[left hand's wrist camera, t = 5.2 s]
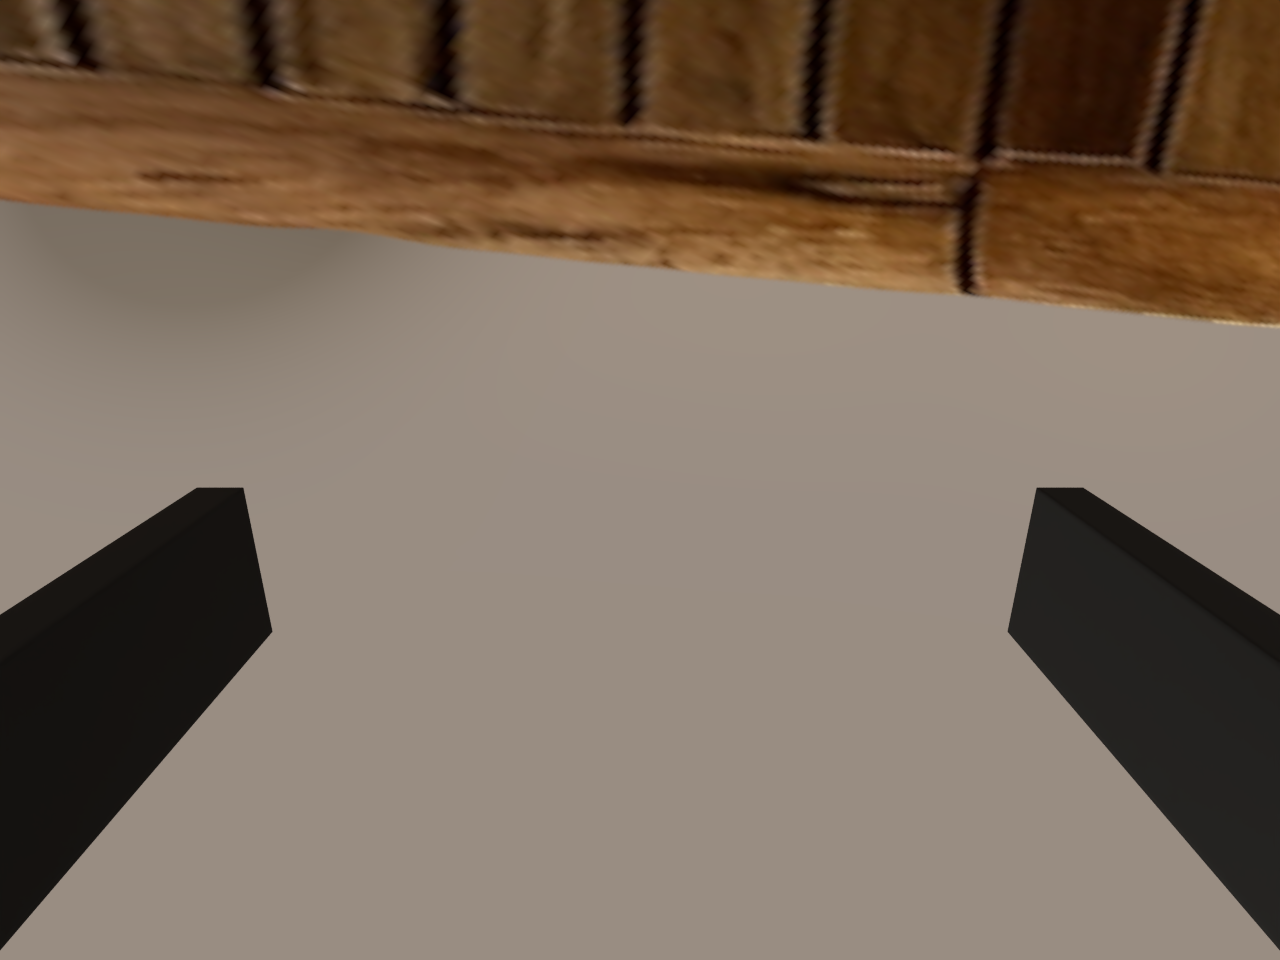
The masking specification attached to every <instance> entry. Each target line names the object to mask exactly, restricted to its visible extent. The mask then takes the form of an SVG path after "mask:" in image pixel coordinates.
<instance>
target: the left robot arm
mask: <svg viewBox="0 0 1280 960" xmlns="http://www.w3.org/2000/svg"><path fill="white" fill-rule="evenodd" d="M271 633H272V627H271V622H270V617H269V612H268V608H267V603H266V598H265V593H264V588H263V583H262V578H261V573H260V568H259V563H258V558H257V553H256V548H255V543H254V538H253V533H252V528H251V523H250V519H249V514H248V509H247V504H246V499H245V494H244V489H243V488H196V489H194V490H193V491H191V492H190V493H188V494H186V495H185V496H183V497H182V498H180V499H179V500H177V501H176V502H174V503H173V504H171V505H169V506H168V507H166V508H165V509H163V510H162V511H160V512H159V513H157V514H156V515H154V516H152V517H151V518H149V519H148V520H146V521H145V522H143V523H142V524H140V525H139V526H137V527H135V528H134V529H132V530H131V531H129V532H128V533H126V534H125V535H123V536H121V537H120V538H118V539H117V540H115V541H114V542H112V543H111V544H109V545H107V546H106V547H104V548H103V549H101V550H100V551H98V552H97V553H95V554H94V555H92V556H90V557H89V558H87V559H86V560H84V561H83V562H81V563H80V564H78V565H77V566H75V567H73V568H72V569H70V570H69V571H67V572H66V573H64V574H63V575H61V576H60V577H58V578H56V579H55V580H53V581H52V582H50V583H49V584H47V585H46V586H44V587H43V588H41V589H39V590H38V591H36V592H35V593H33V594H32V595H30V596H29V597H27V598H25V599H24V600H22V601H21V602H19V603H18V604H16V605H15V606H13V607H12V608H10V609H8V610H7V611H5V612H4V613H2V614H1V615H0V950H1V949H2V948H3V946H4V945H5V944H6V943H7V942H8V941H9V939H10V938H11V937H12V936H13V935H14V933H15V932H16V931H17V930H18V929H19V928H20V926H21V925H22V924H23V923H24V922H25V921H26V919H27V918H28V917H29V916H30V915H31V914H32V912H33V911H34V910H35V909H36V908H37V906H38V905H39V904H40V903H41V902H42V901H43V900H44V898H45V897H46V896H47V895H48V894H49V893H50V891H51V890H52V889H53V888H54V887H55V886H56V884H57V883H58V882H59V881H60V880H61V878H62V877H63V876H64V875H65V874H66V873H67V871H68V870H69V869H70V868H71V867H72V866H73V864H74V863H75V862H76V861H77V860H78V859H79V857H80V856H81V855H82V854H83V853H84V852H85V850H86V849H87V848H88V847H89V846H90V845H91V843H92V842H93V841H94V840H95V839H96V837H97V836H98V835H99V834H100V833H101V832H102V830H103V829H104V828H105V827H106V826H107V825H108V823H109V822H110V821H111V820H112V819H113V818H114V816H115V815H116V814H117V813H118V812H119V811H120V809H121V808H122V807H123V806H124V805H125V804H126V802H127V801H128V800H129V799H130V798H131V797H132V795H133V794H134V793H135V792H136V791H137V790H138V788H139V787H140V786H141V785H142V784H143V782H144V781H145V780H146V779H147V778H148V777H149V775H150V774H151V773H152V772H153V771H154V770H155V768H156V767H157V766H158V765H159V764H160V763H161V761H162V760H163V759H164V758H165V757H166V756H167V754H168V753H169V752H170V751H171V750H172V749H173V747H174V746H175V745H176V744H177V743H178V742H179V740H180V739H181V738H182V737H183V736H184V735H185V733H186V732H187V731H188V730H189V729H190V727H191V726H192V725H193V724H194V723H195V722H196V720H197V719H198V718H199V717H200V716H201V715H202V713H203V712H204V711H205V710H206V709H207V708H208V706H209V705H210V704H211V703H212V702H213V701H214V699H215V698H216V697H217V696H218V695H219V693H220V692H221V691H222V690H223V689H224V688H225V687H226V685H227V684H228V683H229V682H230V681H231V680H232V678H233V677H234V676H235V675H236V674H237V672H238V671H239V670H240V669H241V668H242V667H243V665H244V664H245V663H246V662H247V661H248V660H249V658H250V657H251V656H252V655H253V654H254V653H255V651H256V650H257V649H258V648H259V647H260V646H261V644H262V643H263V642H264V641H265V640H266V639H267V637H268V636H269V635H270V634H271ZM1008 633H1009V634H1010V635H1011V636H1012V637H1013V639H1014V640H1015V641H1016V642H1017V643H1018V644H1019V646H1020V647H1021V648H1022V649H1023V650H1024V651H1025V653H1026V654H1027V655H1028V656H1029V657H1030V658H1031V660H1032V661H1033V662H1034V663H1035V664H1036V665H1037V667H1038V668H1039V669H1040V670H1041V671H1042V672H1043V674H1044V675H1045V676H1046V677H1047V678H1048V680H1049V681H1050V682H1051V683H1052V684H1053V685H1054V687H1055V688H1056V689H1057V690H1058V691H1059V692H1060V694H1061V695H1062V696H1063V697H1064V698H1065V699H1066V701H1067V702H1068V703H1069V704H1070V705H1071V706H1072V708H1073V709H1074V710H1075V711H1076V712H1077V713H1078V715H1079V716H1080V717H1081V718H1082V719H1083V720H1084V722H1085V723H1086V724H1087V725H1088V726H1089V728H1090V729H1091V730H1092V731H1093V732H1094V733H1095V735H1096V736H1097V737H1098V738H1099V739H1100V740H1101V741H1102V743H1103V744H1104V745H1105V746H1106V747H1107V749H1108V750H1109V751H1110V752H1111V753H1112V754H1113V756H1114V757H1115V758H1116V759H1117V760H1118V761H1119V763H1120V764H1121V765H1122V766H1123V767H1124V768H1125V770H1126V771H1127V772H1128V773H1129V774H1130V776H1131V777H1132V778H1133V779H1134V780H1135V781H1136V783H1137V784H1138V785H1139V786H1140V787H1141V788H1142V790H1143V791H1144V792H1145V793H1146V794H1147V795H1148V797H1149V798H1150V799H1151V800H1152V801H1153V802H1154V804H1155V805H1156V806H1157V807H1158V808H1159V809H1160V811H1161V812H1162V813H1163V814H1164V815H1165V816H1166V818H1167V819H1168V820H1169V821H1170V822H1171V823H1172V825H1173V826H1174V827H1175V828H1176V829H1177V830H1178V832H1179V833H1180V834H1181V835H1182V836H1183V837H1184V839H1185V840H1186V841H1187V842H1188V843H1189V845H1190V846H1191V847H1192V848H1193V849H1194V850H1195V852H1196V853H1197V854H1198V855H1199V856H1200V857H1201V859H1202V860H1203V861H1204V862H1205V863H1206V864H1207V866H1208V867H1209V868H1210V869H1211V870H1212V871H1213V873H1214V874H1215V875H1216V876H1217V877H1218V878H1219V880H1220V881H1221V882H1222V883H1223V884H1224V886H1225V887H1226V888H1227V889H1228V890H1229V891H1230V892H1231V894H1232V895H1233V896H1234V897H1235V898H1236V900H1237V901H1238V902H1239V903H1240V904H1241V905H1242V907H1243V908H1244V909H1245V910H1246V911H1247V912H1248V914H1249V915H1250V916H1251V917H1252V918H1253V919H1254V921H1255V922H1256V923H1257V924H1258V925H1259V926H1260V928H1261V929H1262V930H1263V931H1264V932H1265V933H1266V935H1267V936H1268V937H1269V938H1270V939H1271V940H1272V942H1273V943H1274V944H1275V945H1276V946H1277V948H1278V949H1279V950H1280V615H1279V614H1278V613H1276V612H1275V611H1273V610H1272V609H1270V608H1268V607H1267V606H1265V605H1264V604H1262V603H1261V602H1259V601H1258V600H1256V599H1255V598H1253V597H1251V596H1250V595H1248V594H1247V593H1245V592H1244V591H1242V590H1241V589H1239V588H1237V587H1236V586H1234V585H1233V584H1231V583H1230V582H1228V581H1227V580H1225V579H1224V578H1222V577H1220V576H1219V575H1217V574H1216V573H1214V572H1213V571H1211V570H1210V569H1208V568H1207V567H1205V566H1203V565H1202V564H1200V563H1199V562H1197V561H1196V560H1194V559H1193V558H1191V557H1190V556H1188V555H1186V554H1185V553H1183V552H1182V551H1180V550H1179V549H1177V548H1176V547H1174V546H1173V545H1171V544H1169V543H1168V542H1166V541H1165V540H1163V539H1162V538H1160V537H1158V536H1157V535H1155V534H1154V533H1152V532H1151V531H1149V530H1148V529H1146V528H1145V527H1143V526H1142V525H1140V524H1138V523H1137V522H1135V521H1134V520H1132V519H1131V518H1129V517H1128V516H1126V515H1124V514H1123V513H1121V512H1120V511H1118V510H1117V509H1115V508H1114V507H1112V506H1111V505H1109V504H1107V503H1106V502H1104V501H1103V500H1101V499H1100V498H1098V497H1097V496H1095V495H1094V494H1092V493H1090V492H1089V491H1087V490H1086V489H1084V488H1037V489H1036V494H1035V499H1034V504H1033V509H1032V514H1031V519H1030V523H1029V529H1028V533H1027V538H1026V543H1025V548H1024V553H1023V558H1022V563H1021V568H1020V573H1019V578H1018V583H1017V588H1016V593H1015V598H1014V603H1013V608H1012V613H1011V618H1010V623H1009V627H1008Z"/></svg>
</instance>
